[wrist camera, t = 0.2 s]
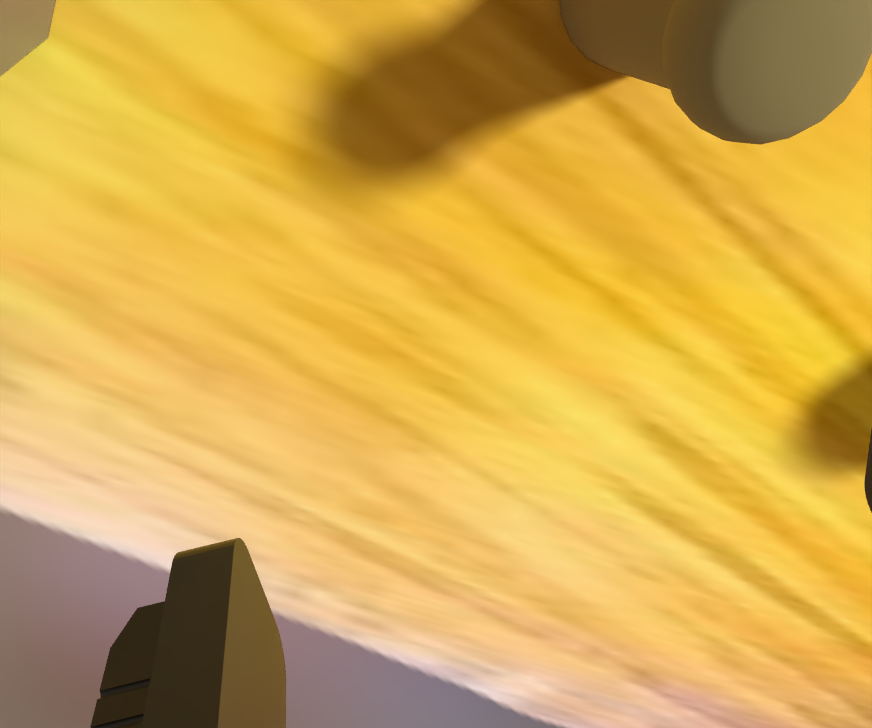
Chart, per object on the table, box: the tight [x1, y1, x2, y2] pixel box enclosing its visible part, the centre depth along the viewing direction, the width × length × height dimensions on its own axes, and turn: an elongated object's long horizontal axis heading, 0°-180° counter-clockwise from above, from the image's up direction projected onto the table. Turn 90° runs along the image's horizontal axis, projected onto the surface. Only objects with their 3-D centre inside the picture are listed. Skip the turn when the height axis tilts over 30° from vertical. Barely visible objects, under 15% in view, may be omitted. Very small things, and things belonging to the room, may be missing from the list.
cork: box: [560, 0, 872, 144], centre depth 23 cm, size 6×6×11 cm
